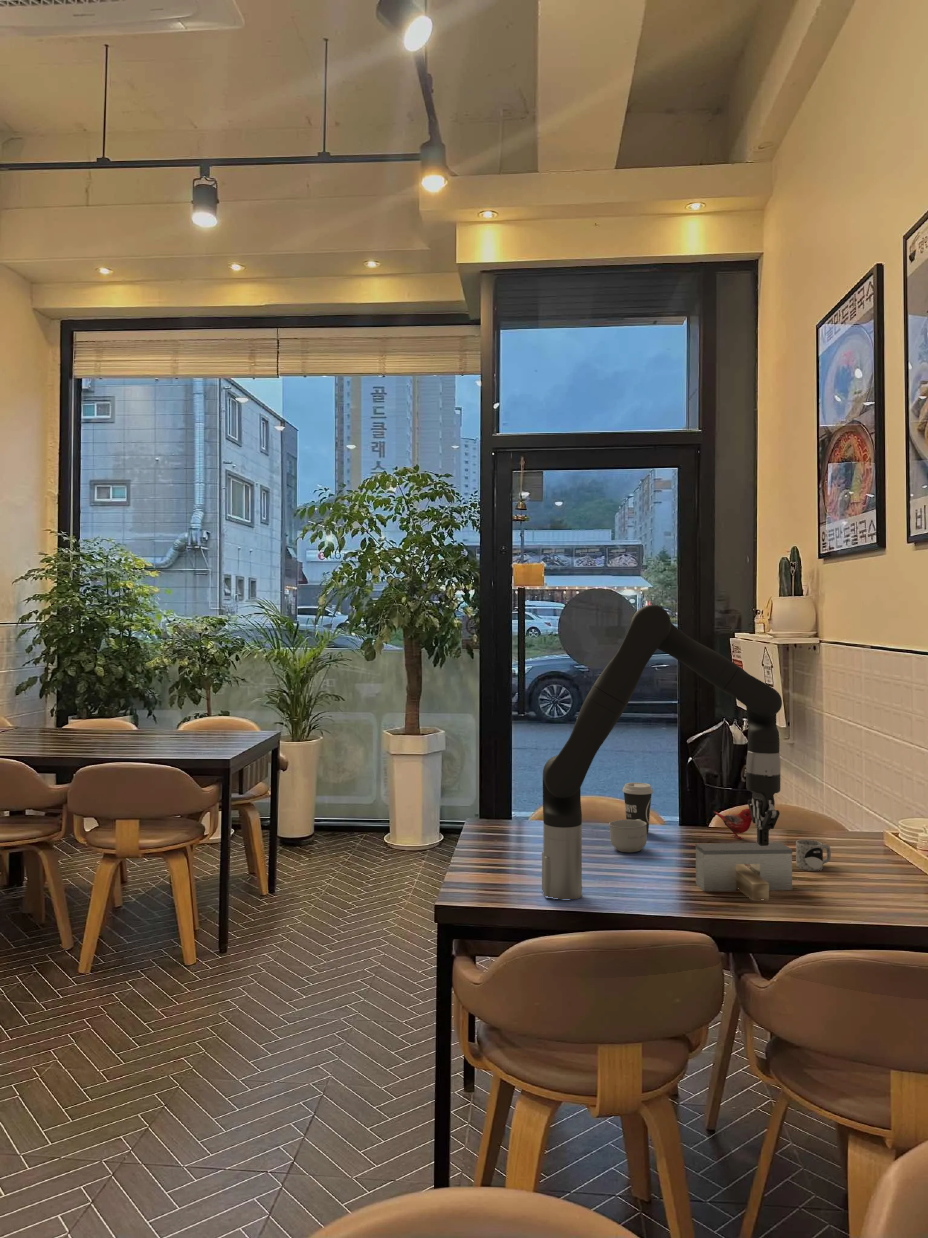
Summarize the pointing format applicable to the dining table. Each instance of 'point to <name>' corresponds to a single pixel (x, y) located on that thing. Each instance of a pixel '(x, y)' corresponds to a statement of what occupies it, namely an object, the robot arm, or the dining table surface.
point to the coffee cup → (638, 801)
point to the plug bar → (751, 883)
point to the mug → (811, 855)
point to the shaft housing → (722, 858)
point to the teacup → (628, 835)
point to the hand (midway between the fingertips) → (762, 845)
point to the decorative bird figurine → (737, 821)
